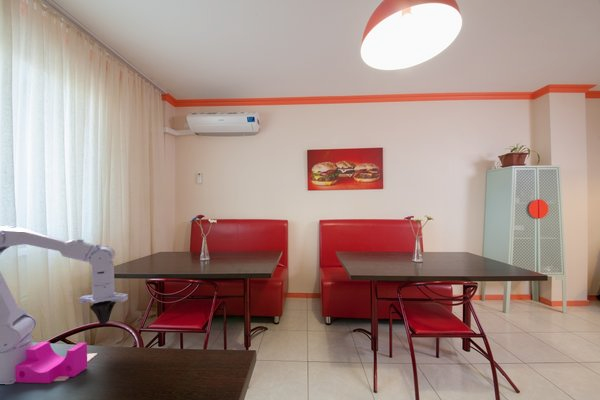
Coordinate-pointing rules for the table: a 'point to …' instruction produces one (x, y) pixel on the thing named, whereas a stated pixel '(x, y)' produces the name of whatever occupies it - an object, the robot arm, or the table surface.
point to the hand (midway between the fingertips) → (104, 322)
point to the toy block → (50, 363)
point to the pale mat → (89, 357)
